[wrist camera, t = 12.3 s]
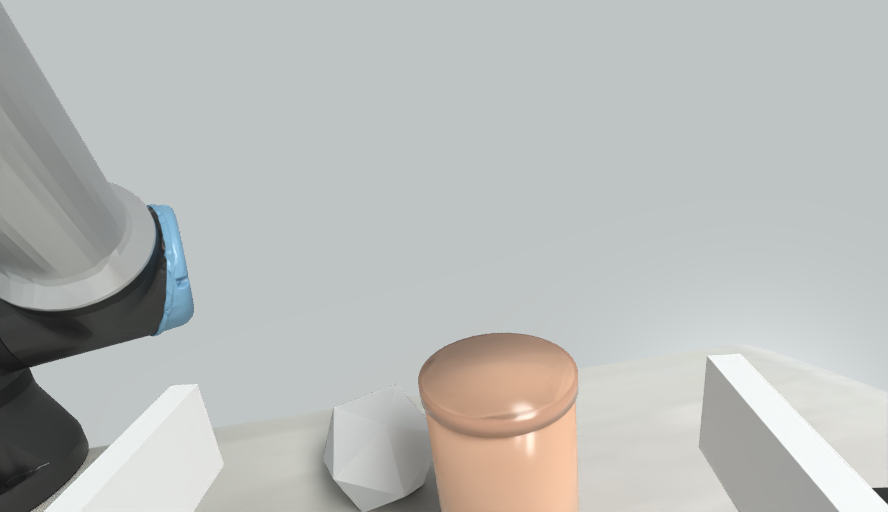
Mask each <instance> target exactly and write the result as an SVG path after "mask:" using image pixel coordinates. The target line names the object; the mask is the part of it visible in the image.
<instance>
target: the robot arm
mask: <svg viewBox="0 0 888 512" xmlns="http://www.w3.org/2000/svg"><path fill="white" fill-rule="evenodd" d="M193 313H194V304H193V298H192V292H191V288H190V283H189V278H188V272H187V266H186V261H185V256H184V251H183V246H182V242H181V237H180V232H179V228H178V224H177V220H176V216H175V214H174V211H173V209H172V208H171V207H169V206H166V205H160V206H156V205H152V204H151V205H147V206H145V204H144V203H143V202H142V201H141V200H140V199H139V197H137V196H136V195H134V194H133V193H132V192H130V191H128V190H127V189H125V188H123V187H120V186H118V185H116V184H113V183H109V182H107V180H106V178H105V177H104V175H103V173H102V171H101V170H100V168H99V167H98V165H97V163H96V161H95V160H94V158H93V157H92V155H91V153H90V151H89V150H88V148H87V146H86V145H85V143H84V141H83V140H82V138H81V136H80V135H79V133H78V131H77V130H76V128H75V126H74V125H73V123H72V121H71V120H70V118H69V116H68V114H67V113H66V111H65V109H64V108H63V106H62V104H61V103H60V101H59V99H58V98H57V96H56V95H55V93H54V91H53V89H52V88H51V86H50V84H49V83H48V81H47V79H46V78H45V76H44V74H43V73H42V71H41V69H40V68H39V66H38V64H37V63H36V61H35V59H34V58H33V56H32V54H31V52H30V51H29V49H28V47H27V46H26V44H25V43H24V41H23V39H22V38H21V36H20V34H19V32H18V31H17V29H16V28H15V26H14V24H13V22H12V21H11V19H10V17H9V16H8V14H7V13H6V11H5V9H4V7H3V6H2V4H1V2H0V512H28V511H30V510H31V509H33V508H34V507H36V506H37V505H39V504H40V503H41V502H43V501H44V500H45V499H47V498H48V497H49V496H51V495H52V494H53V493H54V492H55V491H57V490H58V489H59V488H60V487H61V486H62V485H63V484H64V483H66V482H67V481H68V480H69V479H70V478H71V476H72V475H73V474H74V473H75V472H76V471H77V470H78V468H79V467H80V466H81V464H82V463H83V461H84V459H85V457H86V455H87V452H88V441H87V439H86V436H85V434H84V432H83V429H82V427H81V425H80V424H79V422H78V421H77V420H76V419H75V418H74V417H73V416H72V415H70V413H68V412H67V411H66V410H65V409H64V408H63V407H62V406H61V405H60V404H59V403H57V402H56V401H55V400H54V399H53V398H52V397H51V396H50V395H48V394H47V393H46V392H45V391H44V390H43V389H42V388H41V387H39V385H38V384H37V383H36V382H35V380H34V378H33V376H32V373H31V371H30V369H29V367H33V366H37V365H40V364H43V363H47V362H51V361H55V360H59V359H62V358H66V357H70V356H74V355H78V354H81V353H85V352H88V351H92V350H96V349H100V348H104V347H107V346H111V345H115V344H119V343H123V342H126V341H130V340H133V339H137V338H141V337H145V336H149V335H150V336H156V335H159V334H161V333H162V332H163V331H166V330H169V329H172V328H175V327H178V326H181V325H184V324H185V323H187V322H188V321H189V320H190V319H191V317H192V316H193ZM699 448H700V450H701V451H702V453H703V454H704V456H705V458H706V459H707V461H708V463H709V464H710V466H711V467H712V469H713V471H714V472H715V474H716V476H717V477H718V479H719V481H720V482H721V484H722V485H723V487H724V489H725V490H726V492H727V494H728V495H729V497H730V498H731V500H732V502H733V503H734V505H735V507H736V508H737V510H738V512H888V488H871V487H870V486H869V485H868V484H867V483H866V482H865V481H864V480H863V479H862V478H861V477H860V476H859V475H858V474H857V473H856V472H855V471H854V470H853V469H852V468H851V467H850V466H849V465H848V464H847V463H846V462H845V460H844V459H843V458H842V457H841V456H840V455H839V454H838V453H837V452H836V451H835V450H834V449H833V448H832V447H831V446H830V445H829V444H828V443H827V442H826V441H825V440H824V439H823V438H822V437H821V436H820V435H819V434H818V433H817V432H816V431H815V430H814V429H813V428H812V427H811V426H810V425H809V424H808V423H807V422H806V421H805V420H804V419H803V417H802V416H801V415H800V414H799V413H798V412H797V411H796V410H795V409H794V408H793V407H792V406H791V405H790V404H789V403H788V402H787V401H786V400H785V399H784V398H783V397H782V396H781V395H780V394H779V393H778V392H777V391H776V390H775V389H774V388H773V387H772V386H771V385H770V384H769V383H768V382H767V381H766V380H765V379H764V378H763V377H762V376H761V374H760V373H759V372H758V371H757V370H756V369H755V368H754V367H753V366H752V365H751V364H750V363H749V362H748V361H747V360H746V359H745V358H744V357H743V356H742V355H741V354H729V355H711V356H707V363H706V374H705V385H704V396H703V407H702V418H701V429H700V440H699ZM223 466H224V463H223V460H222V457H221V454H220V450H219V447H218V444H217V441H216V438H215V435H214V432H213V429H212V426H211V423H210V420H209V417H208V414H207V411H206V408H205V405H204V402H203V399H202V396H201V393H200V390H199V387H198V384H189V385H171V386H170V387H169V388H168V389H167V390H166V391H165V392H164V393H163V394H162V395H161V396H160V397H159V398H158V399H157V400H156V401H155V402H154V403H153V404H152V405H151V406H150V407H149V408H148V409H147V410H146V411H145V412H144V413H143V414H142V415H141V416H140V417H139V418H138V419H137V420H136V421H135V422H134V423H133V424H132V425H131V426H130V427H128V428H127V429H126V430H125V431H124V432H123V433H122V435H121V436H119V437H118V438H117V439H116V440H115V442H113V443H112V444H111V445H110V446H109V447H108V448H107V449H106V450H105V451H104V452H103V453H102V454H101V455H100V456H99V457H98V458H97V459H96V460H95V461H94V462H93V463H92V464H91V465H90V466H89V467H88V468H87V469H86V470H85V471H84V472H83V473H82V474H81V475H80V476H79V477H78V478H77V479H76V480H75V481H74V482H73V483H72V484H71V485H70V486H69V487H68V488H67V489H66V490H65V491H64V492H63V493H62V494H61V495H60V496H59V497H58V498H57V499H56V500H55V501H54V502H53V503H52V504H51V505H50V506H49V507H48V508H47V509H46V510H45V511H44V512H193V511H194V510H195V508H196V507H197V505H198V504H199V502H200V501H201V499H202V498H203V496H204V495H205V493H206V492H207V490H208V489H209V487H210V486H211V484H212V483H213V481H214V480H215V478H216V477H217V475H218V474H219V472H220V471H221V469H222V468H223Z"/></svg>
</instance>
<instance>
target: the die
mask: <svg viewBox="0 0 888 512" xmlns="http://www.w3.org/2000/svg"><path fill="white" fill-rule="evenodd" d="M432 457H433V456H432V449H431V443H430V436H429V430H428V423H427V418H426V417H425V416H424V414H423V413H422V412H421V411H420V410H419V409H418V408H417V406H416V405H415V404H414V403H413V402H412V401H411V399H410V398H409V397H408V396H407V395H406V394H405V393H404V391H403V390H402V389H401V388H400V387H399V386H398V385H397V384H394V385H391V386H388V387H386V388H383V389H380V390H378V391H375V392H372V393H370V394H367V395H364V396H362V397H359V398H356V399H354V400H351V401H348V402H346V403H343V404H340V405H337V406H335V407H334V409H333V414H332V419H331V423H330V428H329V433H328V438H327V442H326V447H325V452H324V457H323V460H324V462H325V464H326V466H327V468H328V470H329V472H330V474H331V476H332V478H333V479H334V481H335V482H336V483H337V484H338V485H339V486H340V487H341V489H342V490H343V491H344V492H345V493H346V494H347V496H348V497H349V498H350V499H351V500H352V501H353V502H354V504H355V505H356V506H357V507H358V508H359V509H360V510H361V512H367V511H370V510H372V509H375V508H378V507H380V506H383V505H385V504H388V503H390V502H393V501H396V500H398V499H401V498H403V497H405V496H407V495H409V494H410V493H412V492H413V491H415V490H416V489H418V488H419V487H421V486H422V485H424V483H425V480H426V477H427V473H428V470H429V467H430V464H431V460H432Z"/></svg>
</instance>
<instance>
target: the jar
mask: <svg viewBox="0 0 888 512" xmlns="http://www.w3.org/2000/svg"><path fill="white" fill-rule="evenodd" d="M418 384H419V391H420V397H421V402H422V405H423V407H424V409H425V410H426V416H427V423H428V430H429V436H430V443H431V449H432V456H433V462H434V469H435V475H436V482H437V488H438V495H439V501H440V508H441V512H580V511H579V483H578V456H577V428H576V398H577V395H578V370H577V366H576V363H575V362H574V360H573V358H572V357H571V356H570V355H569V354H568V353H567V352H566V351H565V350H564V349H562V348H561V347H559V346H558V345H556V344H554V343H552V342H550V341H547V340H545V339H542V338H539V337H535V336H530V335H524V334H517V333H491V334H483V335H478V336H472V337H469V338H465V339H462V340H459V341H456V342H454V343H452V344H449V345H447V346H445V347H443V348H442V349H440V350H439V351H437V352H436V353H434V354H433V355H432V356H431V357H430V358H429V359H428V360H427V361H426V362H425V363H424V365H423V366H422V368H421V371H420V373H419V377H418Z"/></svg>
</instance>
